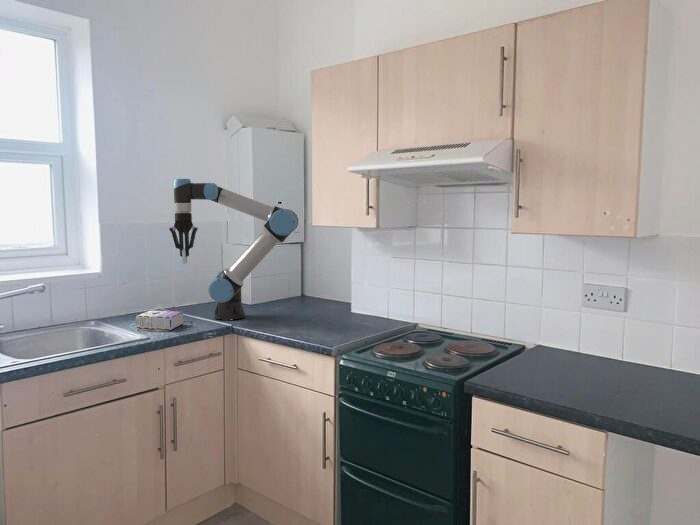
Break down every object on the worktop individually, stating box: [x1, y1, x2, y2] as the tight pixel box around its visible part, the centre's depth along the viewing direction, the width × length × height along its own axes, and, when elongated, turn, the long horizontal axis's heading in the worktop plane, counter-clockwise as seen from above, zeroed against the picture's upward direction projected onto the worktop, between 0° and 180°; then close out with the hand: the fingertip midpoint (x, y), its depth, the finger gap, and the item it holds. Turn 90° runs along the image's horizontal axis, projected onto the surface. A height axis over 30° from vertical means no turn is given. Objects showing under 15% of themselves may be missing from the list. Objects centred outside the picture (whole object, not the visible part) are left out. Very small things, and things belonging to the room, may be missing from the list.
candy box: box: [135, 310, 184, 331], centre depth 252 cm, size 14×6×16 cm
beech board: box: [136, 328, 171, 333], centre depth 252 cm, size 14×16×1 cm
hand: (184, 263), depth 259 cm, fingers closed
